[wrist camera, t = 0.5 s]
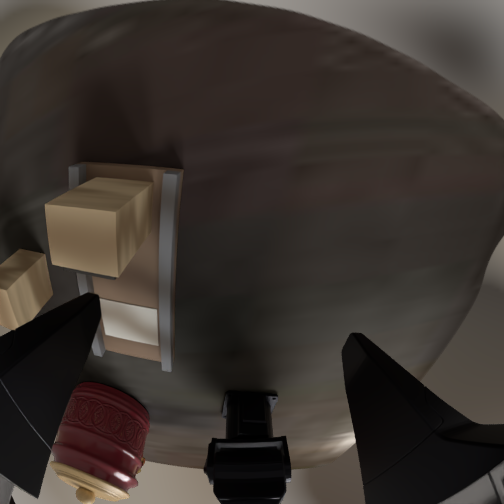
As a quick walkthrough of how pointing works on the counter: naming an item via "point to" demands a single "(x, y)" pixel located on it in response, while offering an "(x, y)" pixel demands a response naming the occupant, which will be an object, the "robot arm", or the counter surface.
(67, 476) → the canister
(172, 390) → the counter surface
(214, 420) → the counter surface
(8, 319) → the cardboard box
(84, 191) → the slider rail with block
